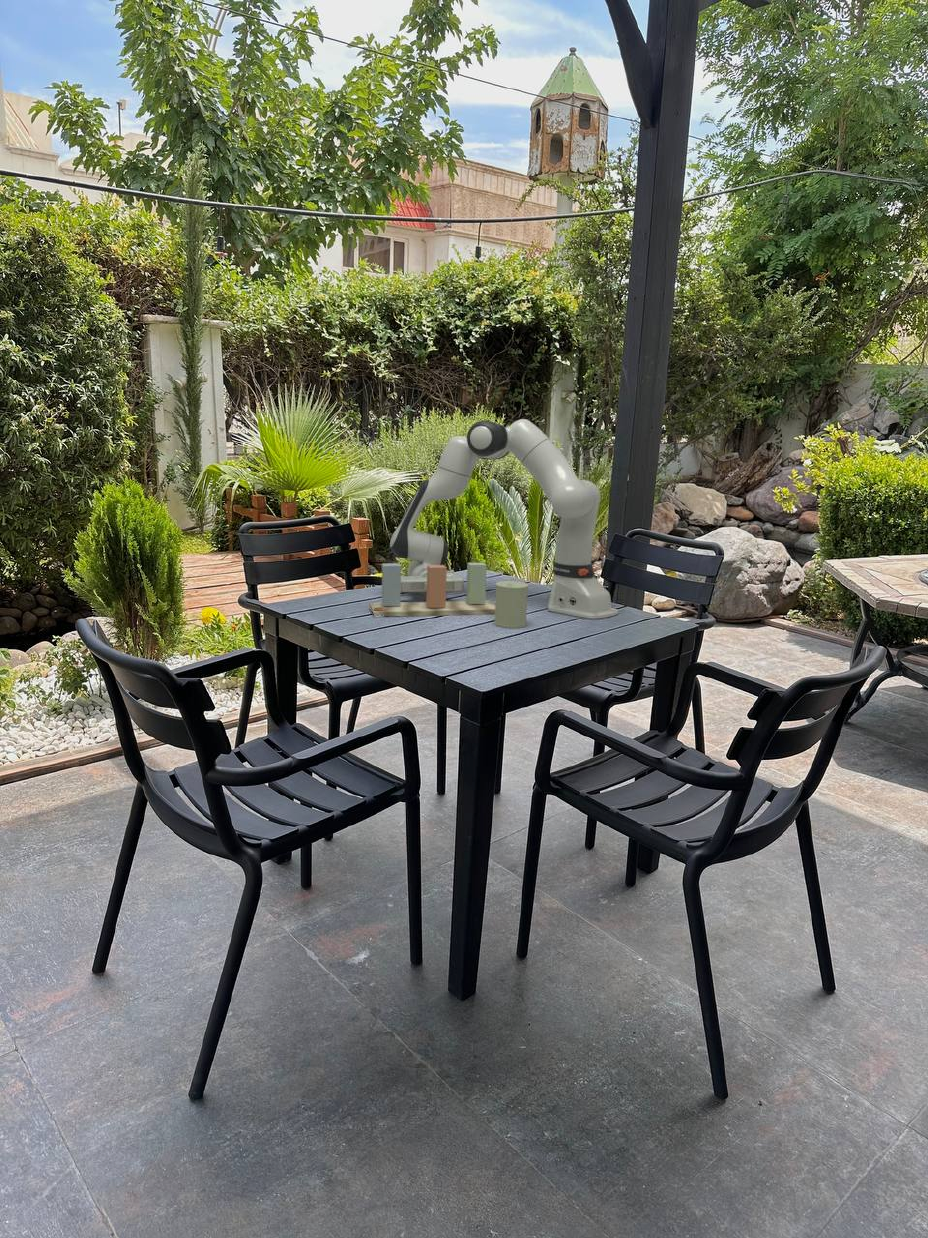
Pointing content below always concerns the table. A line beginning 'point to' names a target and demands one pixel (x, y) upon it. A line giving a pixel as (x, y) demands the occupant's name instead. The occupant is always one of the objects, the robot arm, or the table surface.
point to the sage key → (476, 583)
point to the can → (511, 604)
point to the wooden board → (433, 609)
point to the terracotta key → (436, 586)
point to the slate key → (391, 584)
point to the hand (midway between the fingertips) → (435, 589)
